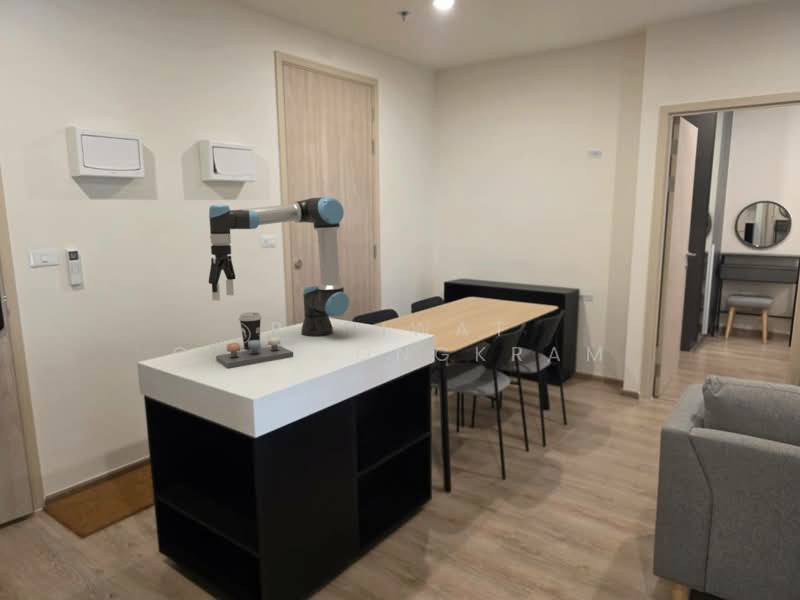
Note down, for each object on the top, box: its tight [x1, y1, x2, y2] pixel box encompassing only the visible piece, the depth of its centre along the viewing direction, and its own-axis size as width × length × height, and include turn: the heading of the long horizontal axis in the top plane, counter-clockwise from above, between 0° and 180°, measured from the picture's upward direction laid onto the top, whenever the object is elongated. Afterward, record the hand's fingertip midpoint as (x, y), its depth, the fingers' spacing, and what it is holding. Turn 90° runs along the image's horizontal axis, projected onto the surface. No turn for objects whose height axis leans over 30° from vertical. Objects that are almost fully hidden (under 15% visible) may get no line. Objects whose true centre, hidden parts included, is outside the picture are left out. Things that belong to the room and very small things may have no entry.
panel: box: [215, 344, 294, 369], centre depth 220 cm, size 27×14×2 cm, turn 126°
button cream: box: [267, 336, 281, 349], centre depth 224 cm, size 5×5×4 cm
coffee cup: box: [238, 311, 262, 351], centre depth 236 cm, size 10×10×15 cm
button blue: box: [248, 339, 262, 352], centre depth 219 cm, size 5×5×4 cm
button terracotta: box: [226, 342, 241, 356], centre depth 214 cm, size 5×5×4 cm
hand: (223, 297), depth 218 cm, fingers open, 13 cm apart
